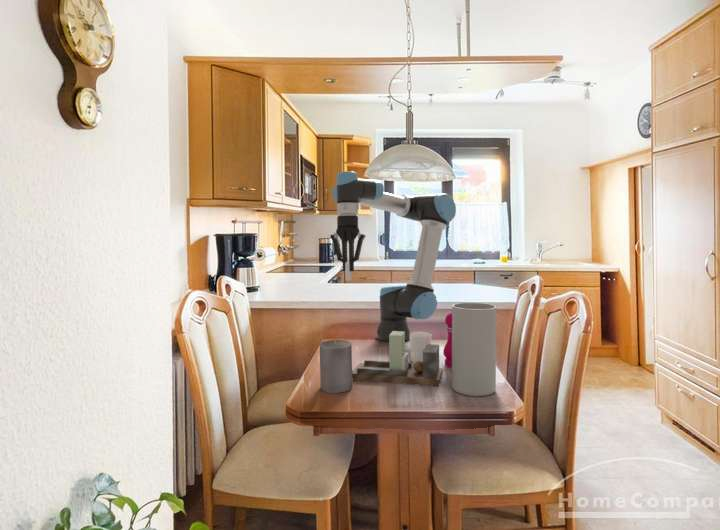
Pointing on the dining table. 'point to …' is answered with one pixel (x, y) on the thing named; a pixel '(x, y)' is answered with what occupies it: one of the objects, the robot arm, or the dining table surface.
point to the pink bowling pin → (448, 341)
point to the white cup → (418, 344)
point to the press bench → (415, 374)
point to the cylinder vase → (474, 348)
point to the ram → (397, 351)
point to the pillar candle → (336, 366)
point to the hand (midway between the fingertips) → (348, 280)
